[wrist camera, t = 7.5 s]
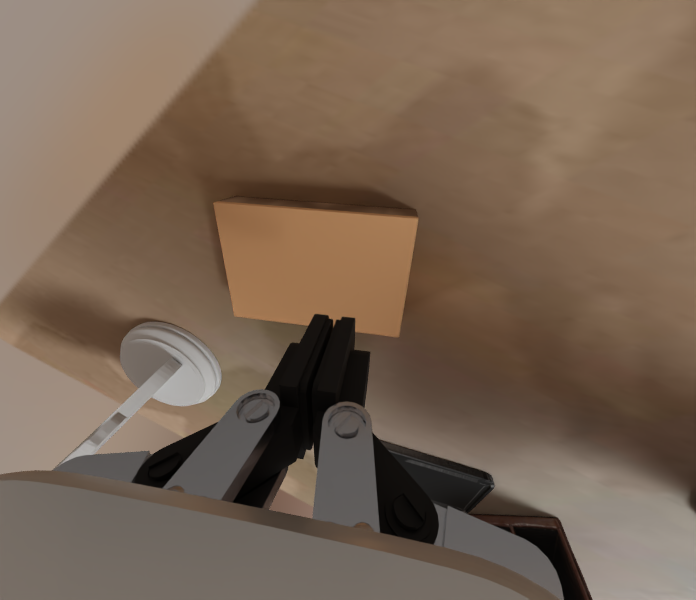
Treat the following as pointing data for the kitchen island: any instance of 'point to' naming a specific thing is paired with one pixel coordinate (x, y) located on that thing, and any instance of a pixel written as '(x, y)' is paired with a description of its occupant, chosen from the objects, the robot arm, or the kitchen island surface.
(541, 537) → the letter holder
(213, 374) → the chess piece
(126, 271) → the kitchen island surface
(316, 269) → the tan flat block
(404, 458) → the phone
